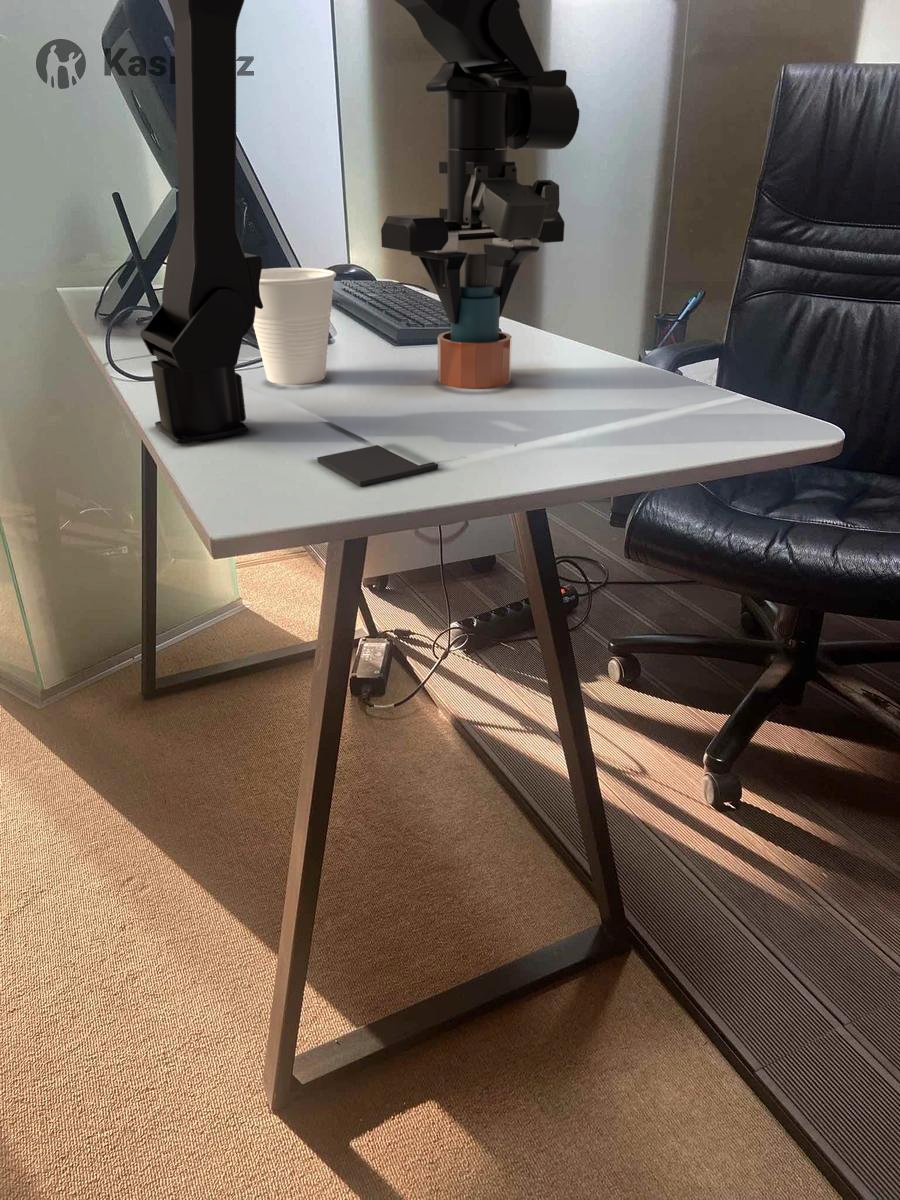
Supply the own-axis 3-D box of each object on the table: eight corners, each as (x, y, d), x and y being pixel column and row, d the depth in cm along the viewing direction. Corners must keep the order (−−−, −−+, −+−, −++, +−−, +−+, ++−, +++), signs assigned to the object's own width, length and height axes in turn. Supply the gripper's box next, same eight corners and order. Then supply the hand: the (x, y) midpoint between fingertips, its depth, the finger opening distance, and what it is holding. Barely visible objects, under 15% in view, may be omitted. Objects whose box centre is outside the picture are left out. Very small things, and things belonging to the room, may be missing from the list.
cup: (295, 398, 86) (285, 282, 81) (230, 383, 92) (217, 274, 86) (361, 379, 93) (356, 272, 88) (297, 367, 99) (289, 265, 93)
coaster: (360, 486, 64) (360, 481, 63) (317, 461, 69) (316, 457, 68) (438, 468, 67) (438, 464, 67) (391, 446, 72) (391, 442, 72)
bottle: (468, 387, 88) (470, 257, 82) (441, 377, 92) (440, 252, 86) (507, 380, 90) (511, 253, 85) (479, 371, 94) (480, 249, 88)
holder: (466, 397, 87) (466, 346, 84) (424, 382, 92) (424, 334, 90) (524, 386, 90) (526, 337, 88) (481, 372, 96) (482, 326, 94)
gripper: (443, 149, 70) (444, 343, 78) (608, 149, 80) (595, 322, 87) (375, 149, 78) (381, 325, 86) (532, 149, 88) (525, 308, 95)
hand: (474, 320), depth 88 cm, fingers closed on bottle, 5 cm apart
